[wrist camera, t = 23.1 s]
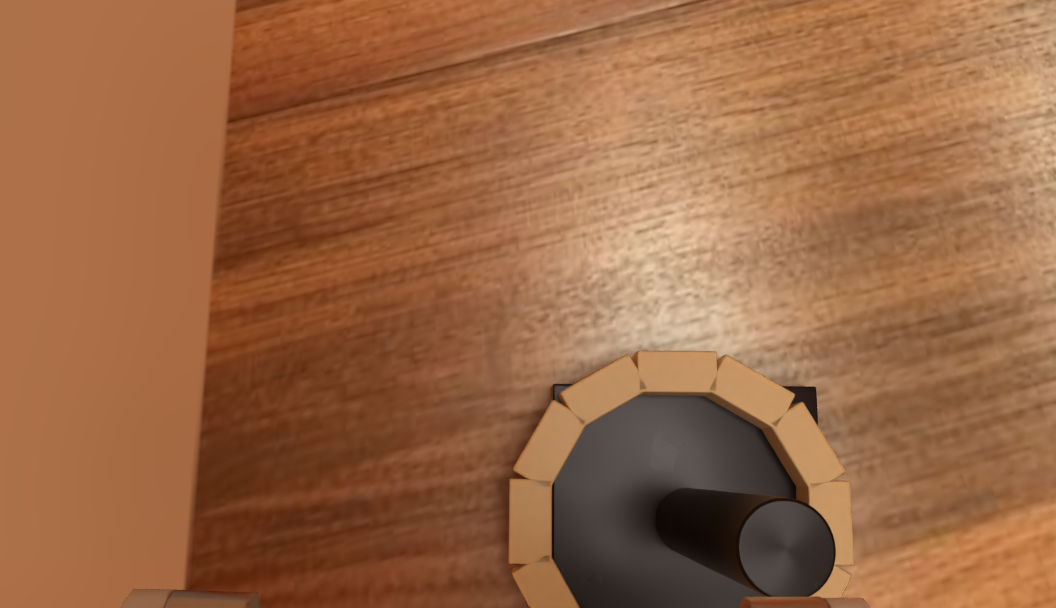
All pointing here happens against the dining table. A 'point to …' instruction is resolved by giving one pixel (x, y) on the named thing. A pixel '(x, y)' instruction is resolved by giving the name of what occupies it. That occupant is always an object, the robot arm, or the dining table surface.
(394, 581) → the dining table surface
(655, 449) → the hook post
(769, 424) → the segmented block ring
